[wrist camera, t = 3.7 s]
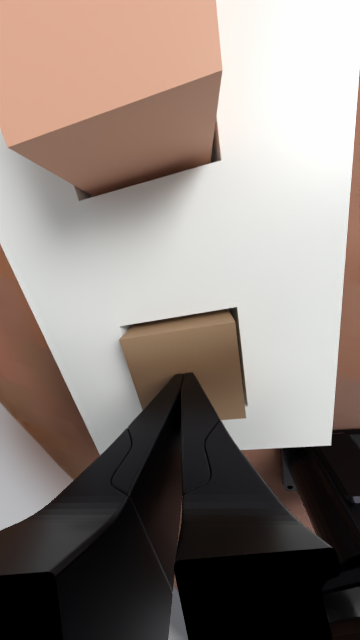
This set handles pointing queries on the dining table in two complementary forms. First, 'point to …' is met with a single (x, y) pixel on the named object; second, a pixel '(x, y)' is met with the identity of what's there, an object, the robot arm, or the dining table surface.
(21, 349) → the dining table surface
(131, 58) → the terracotta key
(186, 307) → the key panel
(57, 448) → the dining table surface
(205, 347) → the walnut key
